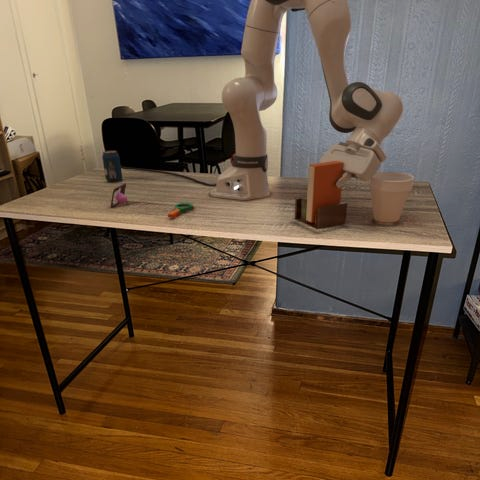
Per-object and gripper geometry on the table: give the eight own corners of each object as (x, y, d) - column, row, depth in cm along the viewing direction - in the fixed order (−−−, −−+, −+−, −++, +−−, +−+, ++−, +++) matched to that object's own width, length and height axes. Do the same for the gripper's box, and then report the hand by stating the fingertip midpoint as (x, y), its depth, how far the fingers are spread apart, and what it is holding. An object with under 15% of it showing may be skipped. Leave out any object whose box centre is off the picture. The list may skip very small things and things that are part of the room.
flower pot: (413, 221, 139) (421, 175, 132) (395, 231, 131) (402, 183, 124) (376, 213, 146) (382, 170, 139) (357, 223, 138) (362, 177, 131)
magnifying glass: (179, 205, 159) (179, 200, 158) (195, 206, 157) (195, 201, 156) (161, 218, 146) (161, 213, 145) (179, 219, 145) (178, 214, 144)
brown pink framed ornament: (123, 182, 163) (111, 188, 156) (136, 187, 163) (125, 194, 155) (120, 199, 167) (108, 206, 159) (133, 205, 167) (121, 212, 159)
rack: (293, 222, 140) (293, 197, 137) (321, 216, 145) (323, 192, 141) (316, 233, 131) (318, 206, 127) (346, 226, 136) (348, 200, 132)
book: (305, 220, 135) (308, 164, 127) (332, 215, 139) (336, 160, 131) (311, 223, 133) (314, 166, 125) (338, 217, 137) (343, 162, 129)
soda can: (118, 178, 200) (113, 149, 194) (125, 180, 195) (121, 151, 189) (103, 181, 196) (98, 151, 190) (110, 183, 191) (105, 153, 185)
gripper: (332, 134, 137) (304, 171, 138) (381, 143, 121) (349, 185, 122) (342, 148, 141) (315, 184, 142) (391, 159, 125) (360, 199, 126)
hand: (331, 185), depth 132 cm, fingers closed on book, 3 cm apart
